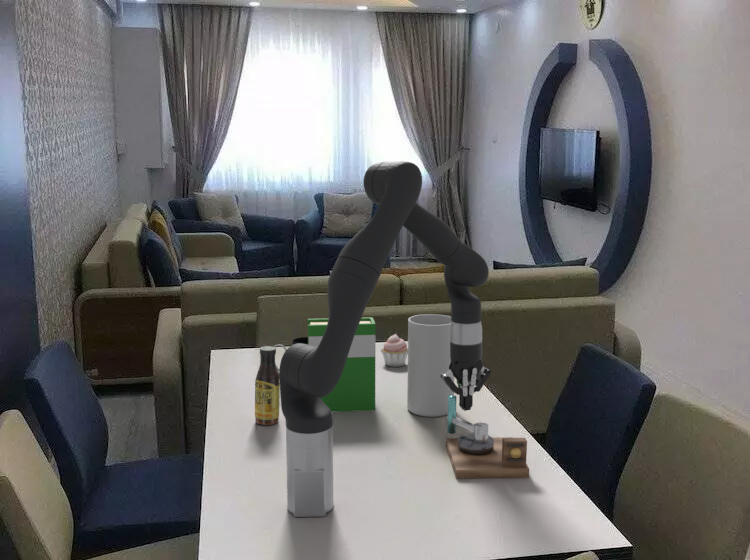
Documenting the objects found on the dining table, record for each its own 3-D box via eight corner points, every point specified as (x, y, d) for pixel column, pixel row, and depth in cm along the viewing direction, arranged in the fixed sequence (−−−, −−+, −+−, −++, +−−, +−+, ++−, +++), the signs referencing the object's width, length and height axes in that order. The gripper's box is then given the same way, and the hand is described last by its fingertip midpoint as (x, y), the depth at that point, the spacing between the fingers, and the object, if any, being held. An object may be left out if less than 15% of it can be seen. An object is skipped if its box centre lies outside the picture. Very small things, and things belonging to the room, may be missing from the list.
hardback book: (309, 412, 213) (308, 325, 208) (308, 403, 220) (307, 318, 215) (375, 410, 214) (375, 323, 210) (372, 401, 222) (372, 317, 217)
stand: (529, 478, 173) (530, 443, 171) (456, 479, 172) (457, 444, 171) (511, 445, 191) (513, 413, 190) (445, 445, 191) (446, 414, 189)
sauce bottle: (250, 423, 204) (248, 349, 201) (264, 416, 210) (262, 343, 206) (271, 428, 201) (269, 352, 198) (285, 420, 207) (283, 346, 203)
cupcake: (414, 363, 257) (415, 333, 256) (400, 370, 250) (400, 339, 248) (390, 358, 262) (390, 329, 260) (375, 365, 255) (375, 335, 253)
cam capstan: (500, 449, 183) (502, 407, 181) (475, 457, 178) (476, 415, 176) (460, 431, 194) (461, 392, 192) (435, 438, 189) (436, 398, 187)
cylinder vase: (425, 398, 224) (426, 312, 219) (462, 408, 216) (464, 318, 211) (398, 410, 214) (398, 320, 209) (436, 421, 206) (437, 327, 202)
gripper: (448, 346, 181) (448, 418, 185) (498, 339, 186) (498, 410, 189) (433, 338, 188) (434, 408, 192) (482, 332, 193) (482, 400, 196)
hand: (466, 409), depth 191 cm, fingers closed
